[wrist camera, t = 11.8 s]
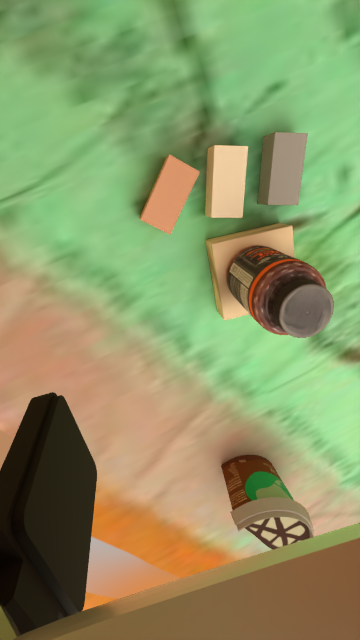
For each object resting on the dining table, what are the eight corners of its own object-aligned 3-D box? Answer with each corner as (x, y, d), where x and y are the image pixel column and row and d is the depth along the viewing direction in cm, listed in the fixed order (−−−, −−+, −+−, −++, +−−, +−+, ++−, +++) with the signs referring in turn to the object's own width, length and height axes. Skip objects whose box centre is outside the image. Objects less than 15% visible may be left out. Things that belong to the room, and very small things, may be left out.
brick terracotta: (166, 157, 32) (169, 154, 29) (193, 173, 32) (199, 171, 30) (139, 217, 33) (140, 219, 30) (166, 230, 34) (170, 234, 31)
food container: (299, 476, 49) (338, 543, 40) (267, 501, 50) (297, 572, 41) (248, 432, 45) (279, 495, 36) (214, 460, 46) (235, 529, 36)
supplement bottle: (282, 240, 33) (354, 264, 22) (281, 298, 35) (345, 345, 24) (222, 247, 32) (267, 275, 22) (225, 305, 34) (266, 356, 24)
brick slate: (262, 137, 32) (275, 132, 29) (292, 138, 32) (307, 133, 30) (256, 203, 34) (267, 204, 31) (284, 203, 35) (298, 205, 32)
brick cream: (207, 149, 32) (214, 145, 29) (237, 149, 32) (247, 146, 29) (204, 215, 34) (211, 217, 31) (233, 215, 34) (242, 217, 32)
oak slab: (205, 239, 35) (211, 244, 32) (279, 222, 35) (292, 225, 32) (217, 310, 38) (224, 320, 35) (285, 294, 38) (297, 302, 35)
